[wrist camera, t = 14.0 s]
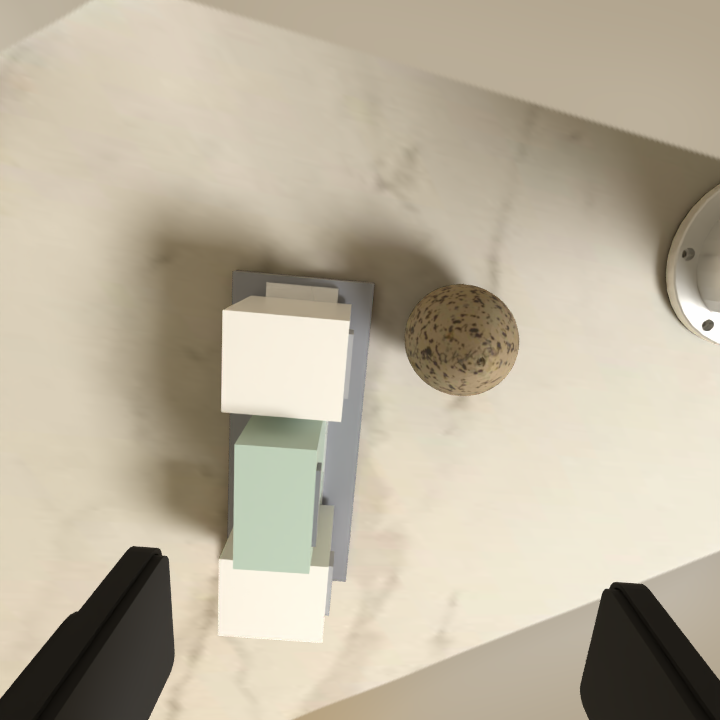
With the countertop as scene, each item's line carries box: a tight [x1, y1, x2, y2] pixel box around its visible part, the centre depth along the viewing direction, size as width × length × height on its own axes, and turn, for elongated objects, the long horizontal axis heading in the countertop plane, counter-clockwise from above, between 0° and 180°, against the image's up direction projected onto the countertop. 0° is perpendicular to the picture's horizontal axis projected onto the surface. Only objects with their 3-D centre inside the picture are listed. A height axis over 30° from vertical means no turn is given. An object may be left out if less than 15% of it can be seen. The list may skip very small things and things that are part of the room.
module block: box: [233, 415, 326, 574], centre depth 30 cm, size 5×8×9 cm, turn 175°
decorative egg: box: [405, 284, 519, 396], centre depth 29 cm, size 7×7×10 cm
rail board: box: [218, 270, 374, 643], centre depth 32 cm, size 10×25×9 cm, turn 175°
